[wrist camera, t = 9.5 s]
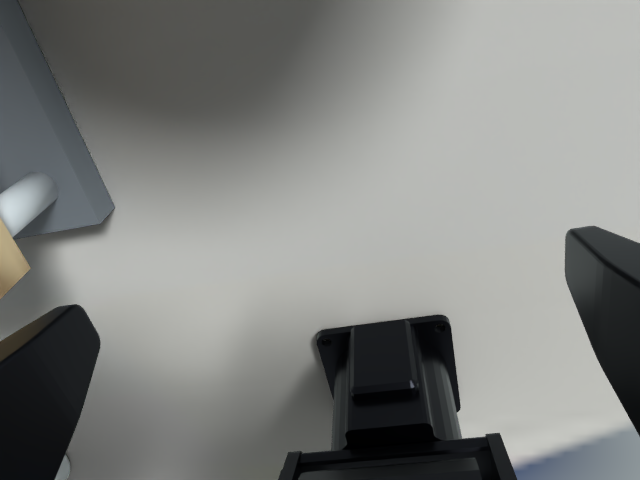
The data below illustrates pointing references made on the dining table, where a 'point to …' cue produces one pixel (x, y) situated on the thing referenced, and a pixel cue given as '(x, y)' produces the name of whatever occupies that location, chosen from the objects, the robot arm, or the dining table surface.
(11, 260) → the oak plank
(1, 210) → the peg stand
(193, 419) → the dining table surface
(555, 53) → the dining table surface
